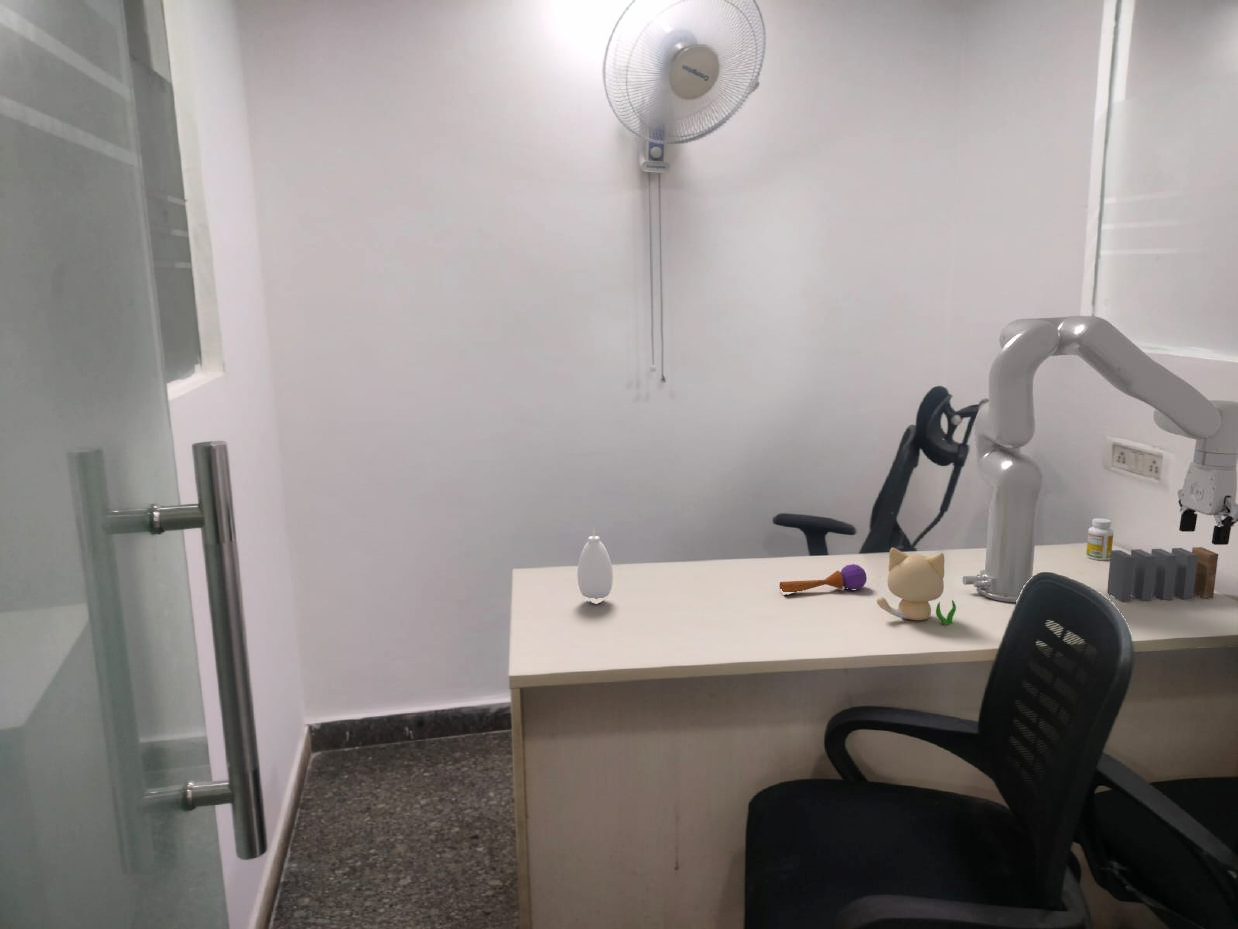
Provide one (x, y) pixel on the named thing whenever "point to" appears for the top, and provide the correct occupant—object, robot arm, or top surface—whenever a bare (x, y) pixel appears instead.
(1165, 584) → the domino
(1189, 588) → the domino
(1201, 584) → the domino
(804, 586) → the kendama
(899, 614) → the kitten
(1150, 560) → the domino
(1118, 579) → the domino
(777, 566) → the top surface
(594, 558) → the white tall oval piece
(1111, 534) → the supplement bottle
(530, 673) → the top surface
